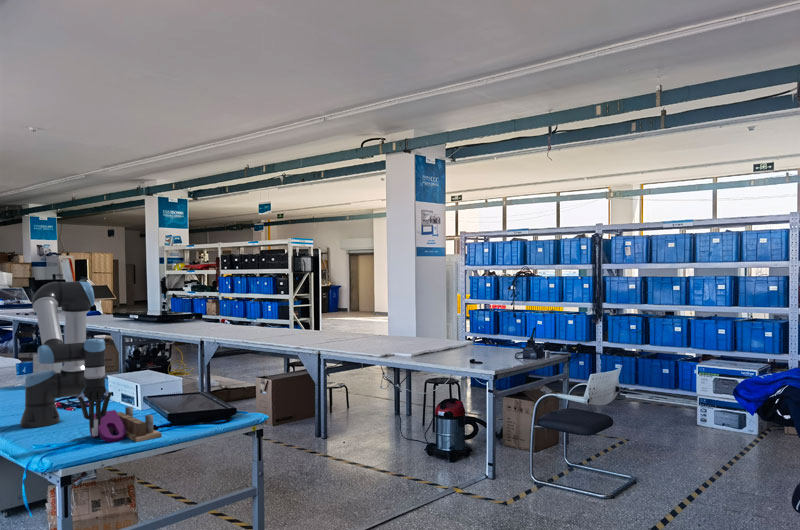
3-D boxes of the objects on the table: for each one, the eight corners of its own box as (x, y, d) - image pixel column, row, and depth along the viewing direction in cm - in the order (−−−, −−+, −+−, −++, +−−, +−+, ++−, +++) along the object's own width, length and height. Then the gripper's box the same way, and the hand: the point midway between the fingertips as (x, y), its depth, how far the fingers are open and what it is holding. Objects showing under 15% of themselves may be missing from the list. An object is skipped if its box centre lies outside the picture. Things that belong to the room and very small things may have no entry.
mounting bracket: (126, 452, 236) (112, 426, 248) (129, 435, 234) (115, 409, 245) (101, 457, 229) (88, 430, 241) (104, 440, 227) (91, 413, 238)
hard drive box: (63, 385, 355) (62, 353, 355) (52, 387, 348) (52, 354, 348) (43, 384, 359) (43, 352, 360) (32, 386, 352) (32, 354, 352)
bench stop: (108, 427, 252) (108, 408, 252) (132, 423, 259) (131, 404, 259) (136, 442, 229) (136, 420, 229) (161, 436, 236) (161, 416, 236)
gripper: (79, 380, 226) (80, 440, 226) (114, 376, 235) (115, 433, 235) (74, 378, 231) (74, 436, 231) (108, 373, 241) (108, 430, 240)
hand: (94, 435), depth 233 cm, fingers closed
